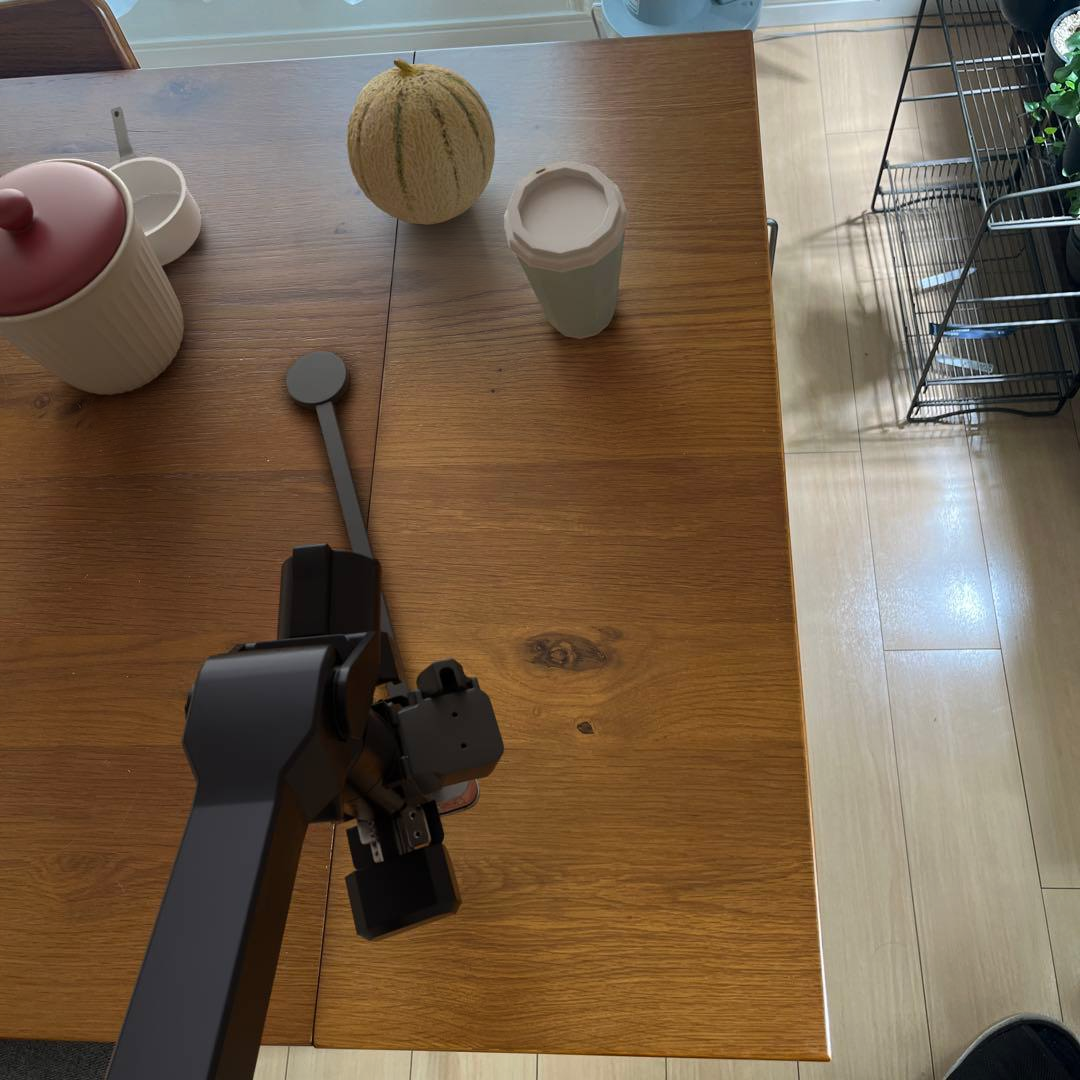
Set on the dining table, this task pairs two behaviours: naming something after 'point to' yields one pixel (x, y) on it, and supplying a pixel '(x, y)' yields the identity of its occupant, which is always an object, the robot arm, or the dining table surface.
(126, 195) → the canister
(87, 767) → the dining table surface
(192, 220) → the saucepan
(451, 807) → the lighter
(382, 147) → the cantaloupe
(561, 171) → the disposable coffee cup
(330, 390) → the spoon
